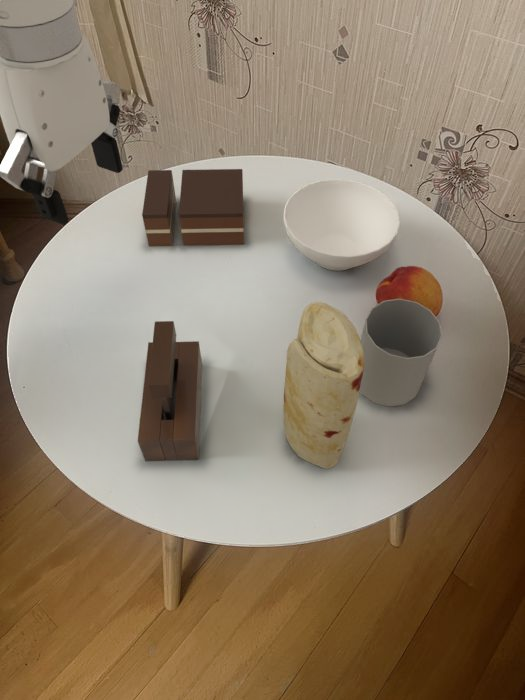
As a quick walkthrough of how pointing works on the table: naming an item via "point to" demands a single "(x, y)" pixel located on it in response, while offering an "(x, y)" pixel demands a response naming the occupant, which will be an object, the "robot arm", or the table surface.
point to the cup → (397, 350)
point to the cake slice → (159, 208)
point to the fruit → (412, 288)
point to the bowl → (341, 222)
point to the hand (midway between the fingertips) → (84, 193)
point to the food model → (322, 384)
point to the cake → (212, 207)
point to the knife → (164, 366)
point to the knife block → (184, 431)
